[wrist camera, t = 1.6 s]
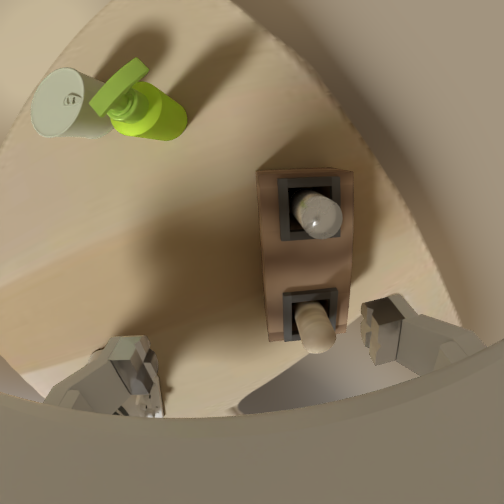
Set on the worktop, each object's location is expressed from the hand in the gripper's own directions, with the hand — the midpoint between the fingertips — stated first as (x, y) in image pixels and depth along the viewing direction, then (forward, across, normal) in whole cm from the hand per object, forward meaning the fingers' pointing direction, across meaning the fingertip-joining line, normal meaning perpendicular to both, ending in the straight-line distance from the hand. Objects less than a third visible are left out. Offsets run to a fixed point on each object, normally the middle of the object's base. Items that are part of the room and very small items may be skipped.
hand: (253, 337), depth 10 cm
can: (+32, +21, -18) cm, 43 cm away
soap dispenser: (+32, +9, -13) cm, 36 cm away
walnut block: (+32, -6, +8) cm, 34 cm away
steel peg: (+25, -6, +1) cm, 26 cm away
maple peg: (+25, -5, +15) cm, 30 cm away
